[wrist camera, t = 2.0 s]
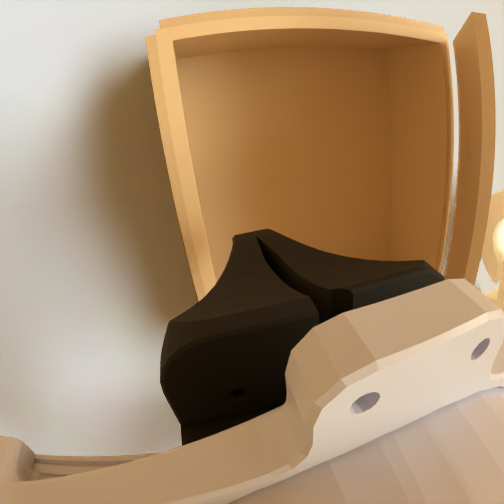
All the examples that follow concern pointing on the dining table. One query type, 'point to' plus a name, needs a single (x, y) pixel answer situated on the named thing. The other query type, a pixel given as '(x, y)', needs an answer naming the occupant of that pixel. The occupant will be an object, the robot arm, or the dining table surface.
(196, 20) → the carton
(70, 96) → the dining table surface
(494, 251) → the letter
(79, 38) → the dining table surface
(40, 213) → the dining table surface
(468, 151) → the carton flap
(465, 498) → the robot arm
